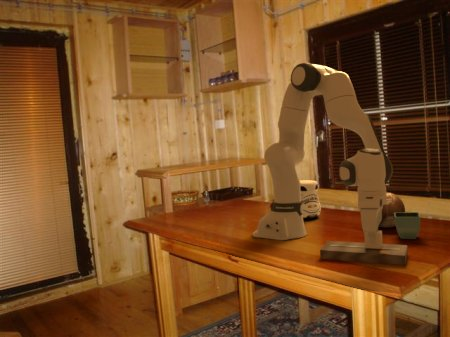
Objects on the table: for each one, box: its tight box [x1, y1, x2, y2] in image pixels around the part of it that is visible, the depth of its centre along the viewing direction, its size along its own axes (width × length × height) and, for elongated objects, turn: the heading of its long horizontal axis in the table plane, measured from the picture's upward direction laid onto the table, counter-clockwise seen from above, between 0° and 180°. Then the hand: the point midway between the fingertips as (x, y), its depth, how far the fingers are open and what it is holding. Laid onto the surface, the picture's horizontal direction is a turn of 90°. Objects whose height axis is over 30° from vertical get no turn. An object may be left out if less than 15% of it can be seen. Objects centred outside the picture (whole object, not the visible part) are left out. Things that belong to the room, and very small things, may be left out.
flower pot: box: [394, 211, 421, 240], centre depth 155 cm, size 9×9×9 cm
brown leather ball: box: [378, 191, 406, 229], centre depth 173 cm, size 15×15×15 cm
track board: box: [319, 240, 409, 266], centre depth 136 cm, size 26×12×3 cm, turn 63°
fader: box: [363, 230, 384, 249], centre depth 134 cm, size 5×4×5 cm
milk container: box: [299, 179, 322, 220], centre depth 203 cm, size 17×17×18 cm
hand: (373, 240), depth 134 cm, fingers closed on fader, 4 cm apart
